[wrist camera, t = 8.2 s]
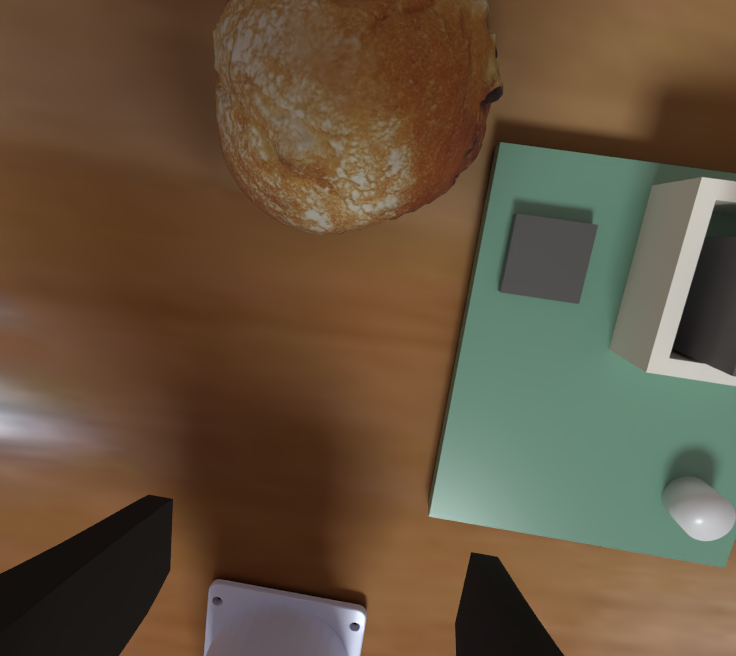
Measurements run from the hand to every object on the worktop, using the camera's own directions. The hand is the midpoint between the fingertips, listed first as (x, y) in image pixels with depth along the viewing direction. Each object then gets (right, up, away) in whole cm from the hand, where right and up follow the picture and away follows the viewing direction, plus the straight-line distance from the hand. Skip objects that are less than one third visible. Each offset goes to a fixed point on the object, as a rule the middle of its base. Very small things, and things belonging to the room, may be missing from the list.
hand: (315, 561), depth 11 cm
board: (+12, +4, +9) cm, 15 cm away
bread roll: (+1, +14, +8) cm, 17 cm away
